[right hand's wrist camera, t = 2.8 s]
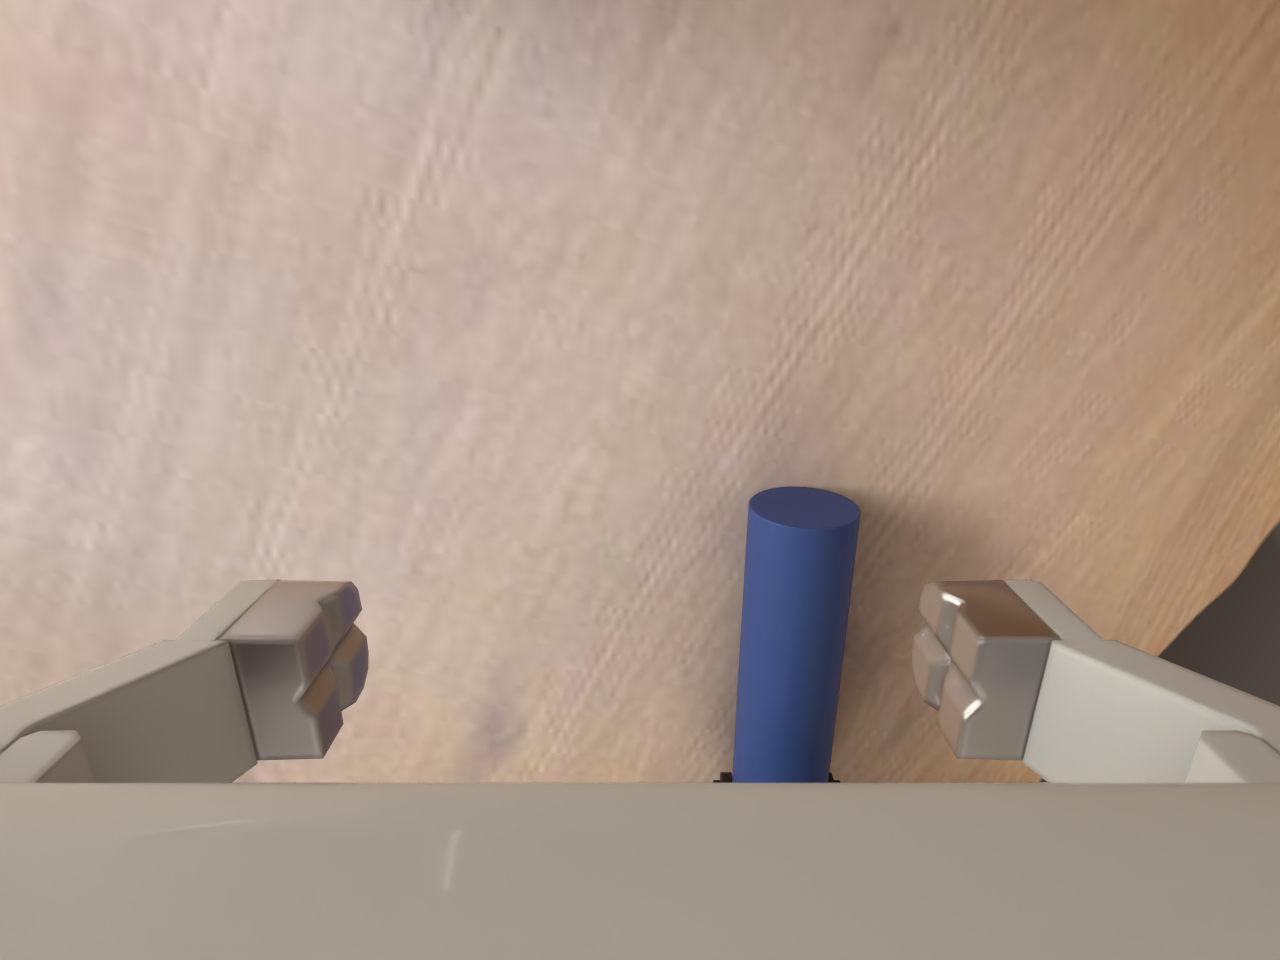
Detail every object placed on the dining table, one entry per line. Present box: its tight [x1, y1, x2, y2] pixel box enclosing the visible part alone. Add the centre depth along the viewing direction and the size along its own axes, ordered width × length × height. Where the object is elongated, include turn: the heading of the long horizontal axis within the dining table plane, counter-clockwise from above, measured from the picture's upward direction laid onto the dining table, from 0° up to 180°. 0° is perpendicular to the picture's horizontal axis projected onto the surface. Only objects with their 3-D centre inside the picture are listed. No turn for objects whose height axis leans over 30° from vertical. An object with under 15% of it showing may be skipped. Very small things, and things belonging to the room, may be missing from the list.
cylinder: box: [732, 487, 860, 783], centre depth 44 cm, size 25×6×6 cm, turn 0°
